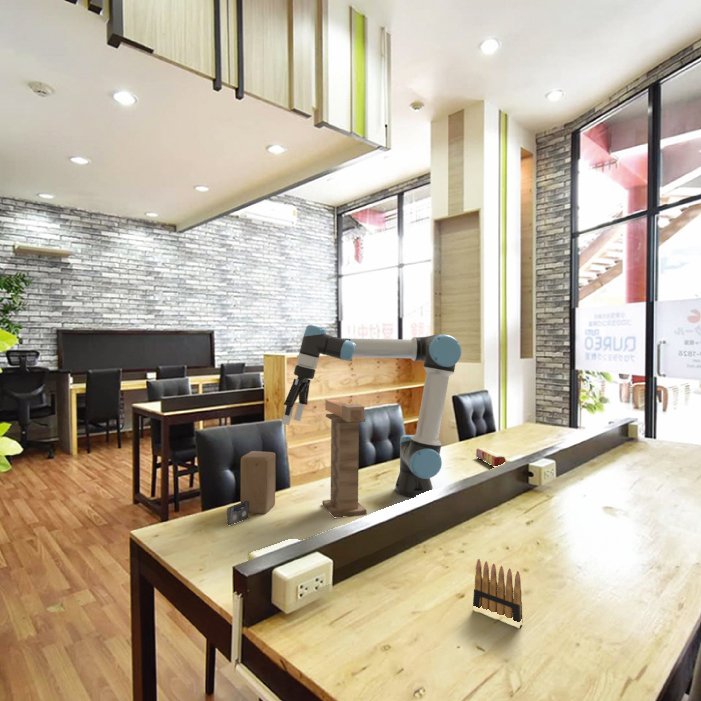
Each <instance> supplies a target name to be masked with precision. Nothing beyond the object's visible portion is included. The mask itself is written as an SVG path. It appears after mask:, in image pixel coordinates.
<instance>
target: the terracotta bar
mask: <svg viewBox="0 0 701 701" xmlns="http://www.w3.org/2000/svg"><path fill="white" fill-rule="evenodd" d="M324 406H325V407H324V409H325V411H327V412H329V413H330V414H335V415H337V416H339V417H341V418H342V419H343V420H345V421H347V422H358V421H364V419H365V406H364V405H361V404H358V403H357V404H348V403H345V402H342V401H341V400H337V399H325V405H324Z"/></svg>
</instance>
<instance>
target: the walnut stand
mask: <svg viewBox="0 0 701 701" xmlns="http://www.w3.org/2000/svg"><path fill="white" fill-rule="evenodd" d="M325 417H326V418H327V419H328V420H331V424H330V425H331V426H330V429H331V430H330V499H325V500H324V499H323V500H322V504H323V505H322V504H321V505H322V506H323V507H324V508H325V509H326V510H327V511H328V512H330V513H331V514H332V515H333V516H334V517H341V518H344V517H343V516H348V517H354V515H356V516H362V515H367V514H368V513H367V512H368V511H367V509H366V507H364V506H363V505H362V504H361V503H360V502H359V454H360V452H359V450H360V446H359V443H360V440H359V439H360V438H359V437H360V423H364V422H366V418H364V421H358V422H347V421H345V420H343V419H342V418H341V417H339V416H337V415H335V414H333V413H326V414H325ZM330 513H329V514H330ZM331 514H330V515H331ZM332 515H331V516H332ZM333 516H332V517H333ZM334 517H333V518H334Z"/></svg>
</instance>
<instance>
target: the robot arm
mask: <svg viewBox="0 0 701 701" xmlns="http://www.w3.org/2000/svg"><path fill="white" fill-rule="evenodd" d="M326 333H327V330H326V328H325V327H324V328H323V327H320V326H316V325H313V324H308V325H307V326H306V328H305V330H304V333H303V336H302V341H301V345H300V348H299V353H298V354H297V355H296V357H297V361H296V365H295V367H294V371H293V375H295V376H296V377H297V378H294V379H293V381H292V385H291V387H290V389H289V392H288V393H287V396H286V399H285V401H284V403H283V405H284V406H285V408H284V413H283V416H282V421H281V424H283V425H286V426H290V423H291V419H292V417H293V420H294V421H298V422H301V420H302V417H303V412H304V410H305V405H308V401H309V400H308V399H309V392H310V384H311V381H312V380H314V378H315V374H316V368H317V366H318V363H319V358H320V355H323V356H328V357H332V358H335V359H339V360H341V361H348V362H349V361H352V359H353V358H375V359H376V358H378V359H379V358H380V359H381V358H382V359H383V358H384V359H411V360H412V361H413V362H414V361H415V362H422V363H423V366H422V367H423V369H424V370H425V373H426V374H425V380H424V384H423V390H422V397H421V403H420V408H419V414H418V419H417V424H416V431H415V434H404V435H402V436H400V441H399V453H400V454H399V472H398V477H397V479H396V482H395V488H394V489H395V490H394V491H395V493H397V494H398V495H401V496H405V497H409V498H414V497H413V496H416V495H419V494H421V493H424V492H426V491H429V490H432V489H433V484H432V480H431V478H434V477H435V476H436V475H438V473H439V472H440V471H441V469H442V466H443V465H442V464H443V462H442V461H443V460H442V457H441V455H440V454H441V449H442V448H441V447H442V442H441V440H439V436H440V432H441V424H442V420H443V412H444V409H445V408H444V407H445V402H446V397H447V391H448V384H449V379H450V377H451V375H453V374H454V373H455V369H456V364H457V363H458V362H459V361H460V359H461V356H462V347H461V344H460V342H459V341H458V340H457V339H456V338H455V337H453V336H452V335H448V334H442V333H440V334H433V335H427V336H421V337H417V336H414V337H412V338H411V339H399V338H398V339H396V338H395V339H393V338H391V339H390V338H389V339H388V338H344V337H343V338H341V337H337V336H332V335H329V334H326ZM297 399H298V403H297V405H296V408H294V405H295V404H296V402H297ZM294 409H295V413H294V416H292V415H293V412H294Z"/></svg>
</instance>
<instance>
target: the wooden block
mask: <svg viewBox="0 0 701 701" xmlns="http://www.w3.org/2000/svg"><path fill="white" fill-rule="evenodd" d="M244 501H249V514H250V513H253V514H260V515H261V514H263V515H264V514H267V513H268V512H269V511H270V510H271V509H272V508H274V506H275V505H276V452H272V451H261V450H259V451H258V450H251V451H249V452H248V453H246V454H244V455H242V456H241V458H240V503H241V502H244Z"/></svg>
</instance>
